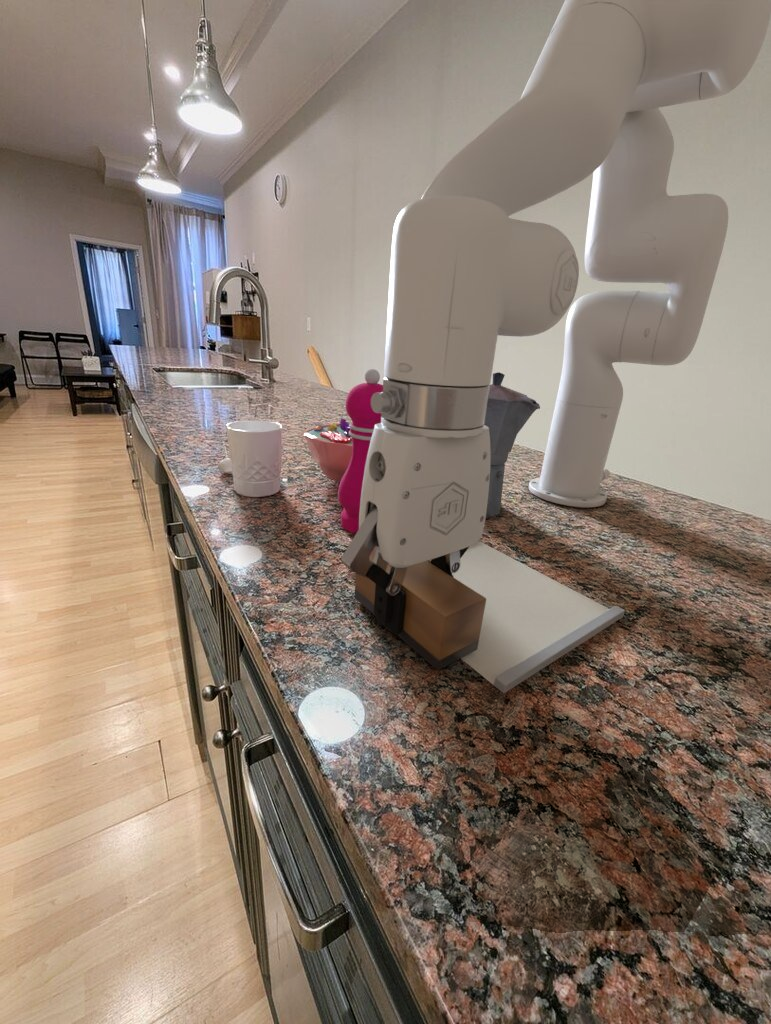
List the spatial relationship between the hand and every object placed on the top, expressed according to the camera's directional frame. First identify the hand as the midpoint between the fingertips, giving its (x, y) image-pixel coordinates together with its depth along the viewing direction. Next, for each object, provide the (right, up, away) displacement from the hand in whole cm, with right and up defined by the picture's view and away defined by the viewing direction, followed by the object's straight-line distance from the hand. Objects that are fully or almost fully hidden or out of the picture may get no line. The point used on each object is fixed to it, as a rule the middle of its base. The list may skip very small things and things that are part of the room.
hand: (411, 613), depth 39 cm
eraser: (0, -1, 0) cm, 1 cm away
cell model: (-6, +14, +37) cm, 40 cm away
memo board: (+8, 0, +6) cm, 10 cm away
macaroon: (-28, +15, +36) cm, 48 cm away
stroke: (+2, -3, -3) cm, 4 cm away
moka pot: (+10, +10, +29) cm, 32 cm away
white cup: (-22, +12, +30) cm, 39 cm away
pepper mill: (-5, +7, +20) cm, 22 cm away
